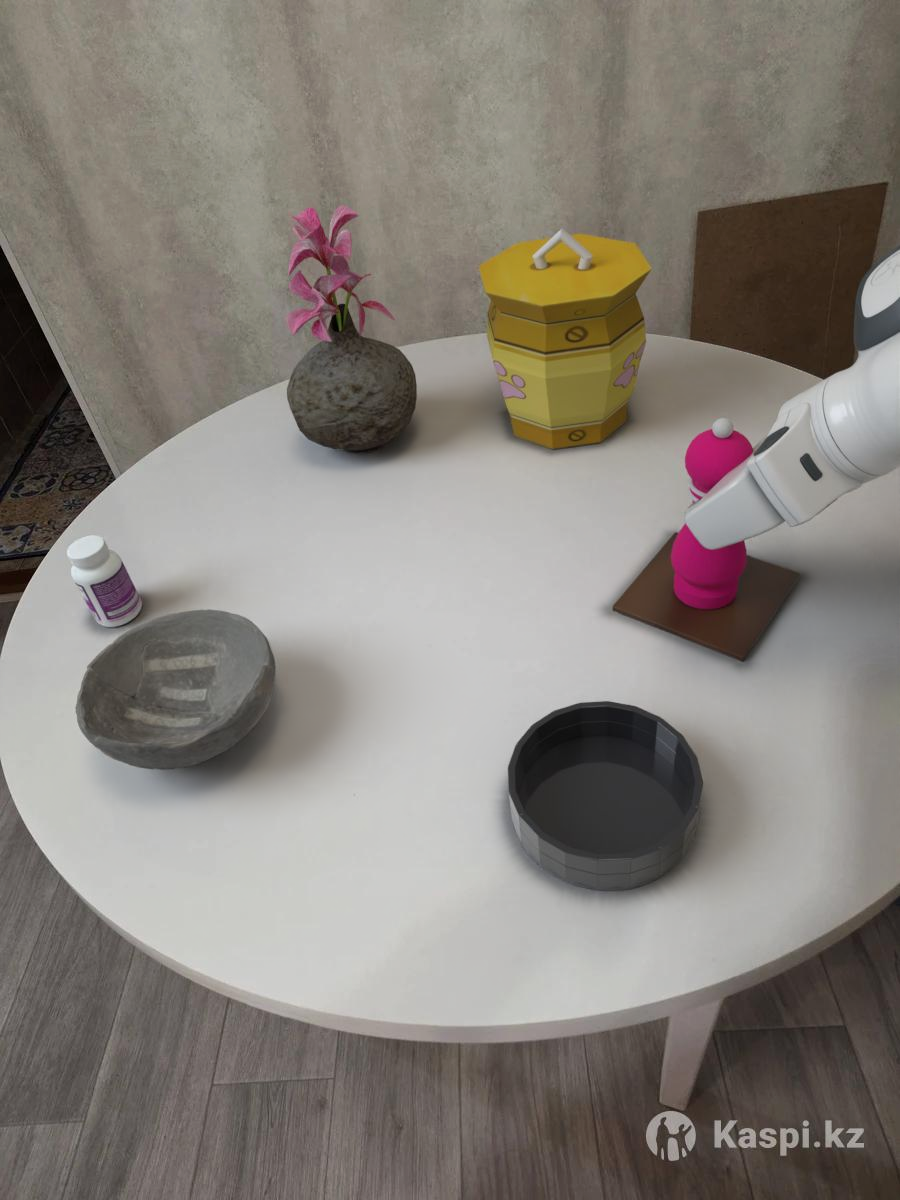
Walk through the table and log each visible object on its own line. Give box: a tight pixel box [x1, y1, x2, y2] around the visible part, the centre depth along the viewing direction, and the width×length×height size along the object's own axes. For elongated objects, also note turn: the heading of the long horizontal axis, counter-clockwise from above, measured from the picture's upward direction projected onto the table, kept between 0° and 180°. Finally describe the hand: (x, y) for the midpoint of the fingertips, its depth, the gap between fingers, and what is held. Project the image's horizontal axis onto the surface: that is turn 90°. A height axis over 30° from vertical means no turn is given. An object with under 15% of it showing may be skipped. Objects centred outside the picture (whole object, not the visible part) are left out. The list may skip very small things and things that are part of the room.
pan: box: [507, 700, 704, 891], centre depth 70 cm, size 15×15×4 cm
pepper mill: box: [671, 417, 753, 609], centre depth 82 cm, size 7×7×20 cm
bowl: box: [74, 608, 276, 771], centre depth 81 cm, size 18×18×8 cm
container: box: [478, 227, 653, 451], centre depth 109 cm, size 21×21×25 cm
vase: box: [285, 205, 418, 454], centre depth 109 cm, size 17×17×30 cm
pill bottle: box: [66, 534, 143, 628], centre depth 94 cm, size 5×5×10 cm
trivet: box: [611, 531, 801, 662], centre depth 89 cm, size 14×14×1 cm
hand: (708, 498), depth 82 cm, fingers closed on pepper mill, 5 cm apart
